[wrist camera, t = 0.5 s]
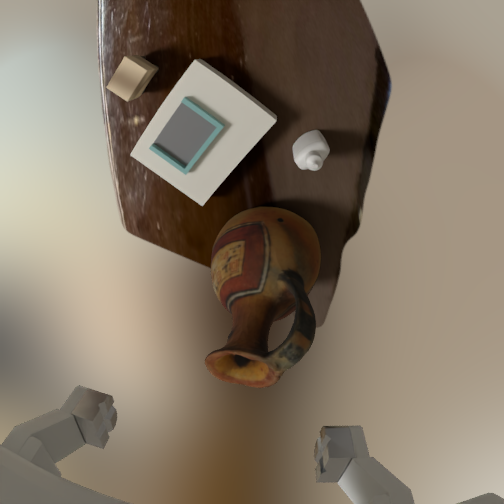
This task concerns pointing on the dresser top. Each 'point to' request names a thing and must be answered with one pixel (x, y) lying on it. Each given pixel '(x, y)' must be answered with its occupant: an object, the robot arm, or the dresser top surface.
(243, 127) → the dock
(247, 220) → the ceramic pitcher
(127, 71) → the beige wheeled cart
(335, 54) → the dresser top surface
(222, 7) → the dresser top surface
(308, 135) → the eye dropper bottle
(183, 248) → the dresser top surface
